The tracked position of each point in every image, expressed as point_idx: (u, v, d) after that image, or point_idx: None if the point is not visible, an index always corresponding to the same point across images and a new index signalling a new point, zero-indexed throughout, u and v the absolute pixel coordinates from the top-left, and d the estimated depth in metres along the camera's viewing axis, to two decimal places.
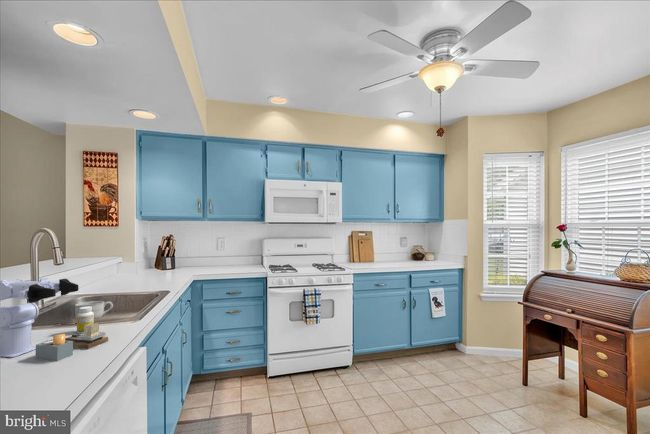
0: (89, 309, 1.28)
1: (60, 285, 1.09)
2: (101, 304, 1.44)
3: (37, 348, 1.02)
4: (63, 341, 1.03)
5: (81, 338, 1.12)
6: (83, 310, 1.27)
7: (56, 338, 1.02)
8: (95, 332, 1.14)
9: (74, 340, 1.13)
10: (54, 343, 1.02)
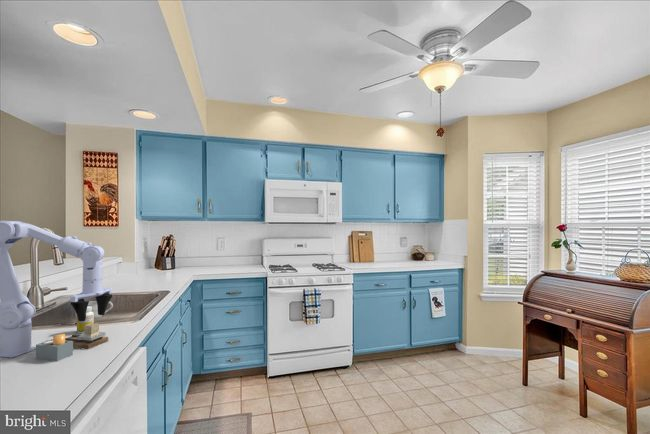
0: (89, 309, 1.28)
1: (103, 296, 1.18)
2: None
3: (37, 348, 1.02)
4: (63, 341, 1.03)
5: (81, 338, 1.12)
6: None
7: (56, 338, 1.02)
8: (95, 332, 1.14)
9: (74, 340, 1.13)
10: (54, 343, 1.02)
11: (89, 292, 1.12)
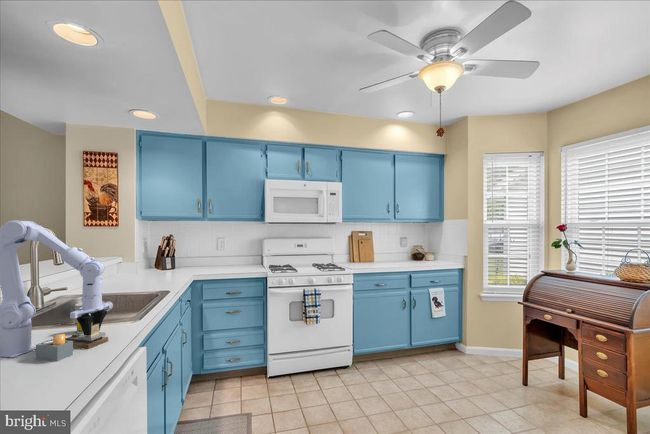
0: None
1: (98, 313, 1.16)
2: None
3: (37, 348, 1.02)
4: (63, 341, 1.03)
5: (81, 338, 1.12)
6: None
7: (56, 338, 1.02)
8: (95, 332, 1.14)
9: (74, 340, 1.13)
10: (54, 343, 1.02)
11: (89, 308, 1.12)
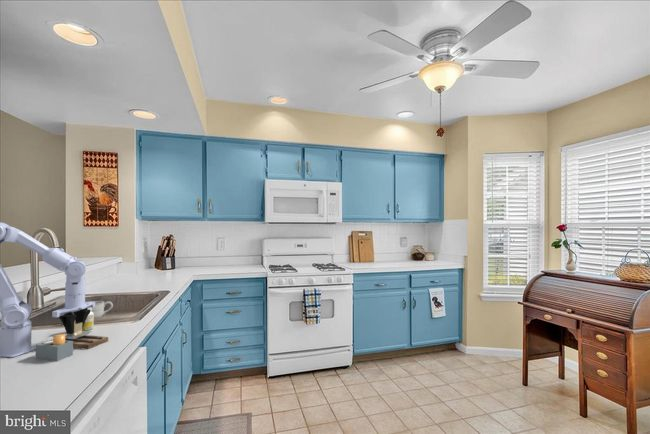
0: (89, 309, 1.28)
1: (81, 312, 1.18)
2: (101, 304, 1.44)
3: (37, 348, 1.02)
4: (63, 341, 1.03)
5: None
6: None
7: (56, 338, 1.02)
8: (78, 330, 1.16)
9: (74, 340, 1.13)
10: (54, 343, 1.02)
11: (71, 307, 1.14)
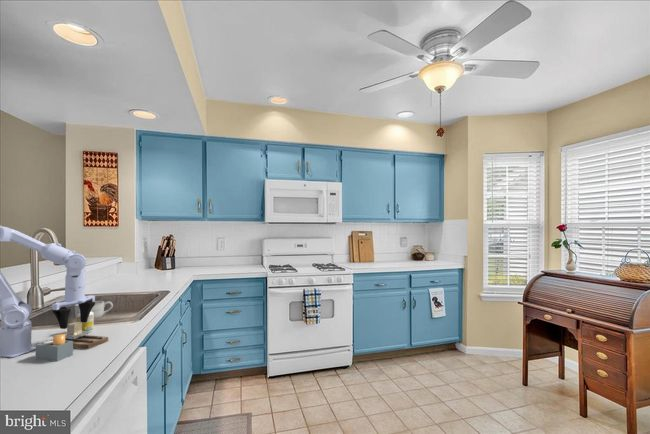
0: None
1: (85, 304, 1.20)
2: (101, 304, 1.44)
3: (37, 348, 1.02)
4: (63, 341, 1.03)
5: None
6: None
7: (56, 338, 1.02)
8: (77, 330, 1.16)
9: (74, 340, 1.13)
10: (54, 343, 1.02)
11: (71, 300, 1.14)
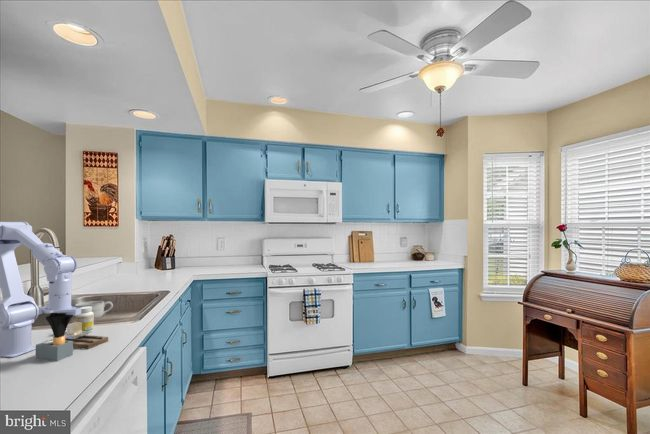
0: (89, 309, 1.28)
1: None
2: (101, 304, 1.44)
3: (37, 348, 1.02)
4: (63, 342, 1.03)
5: None
6: (83, 310, 1.27)
7: (56, 339, 1.02)
8: (77, 330, 1.16)
9: (74, 340, 1.13)
10: (54, 344, 1.02)
11: None
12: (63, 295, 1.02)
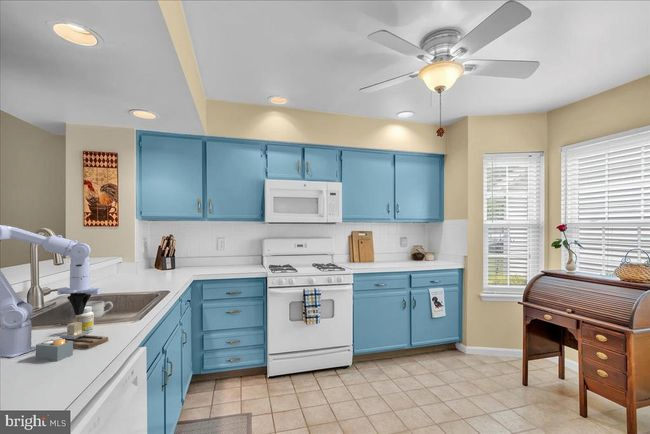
0: (89, 309, 1.28)
1: None
2: (101, 304, 1.44)
3: (37, 348, 1.02)
4: None
5: (64, 337, 1.14)
6: None
7: (56, 343, 1.02)
8: (77, 330, 1.16)
9: (74, 340, 1.13)
10: None
11: (69, 288, 1.15)
12: (84, 277, 1.15)
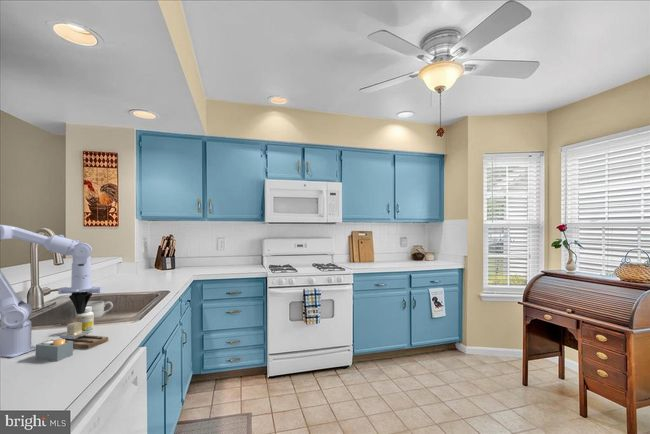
0: (89, 309, 1.28)
1: None
2: (101, 304, 1.44)
3: (37, 348, 1.02)
4: None
5: (64, 337, 1.14)
6: None
7: (56, 343, 1.02)
8: (77, 330, 1.16)
9: (74, 340, 1.13)
10: None
11: (71, 287, 1.16)
12: (86, 276, 1.16)
